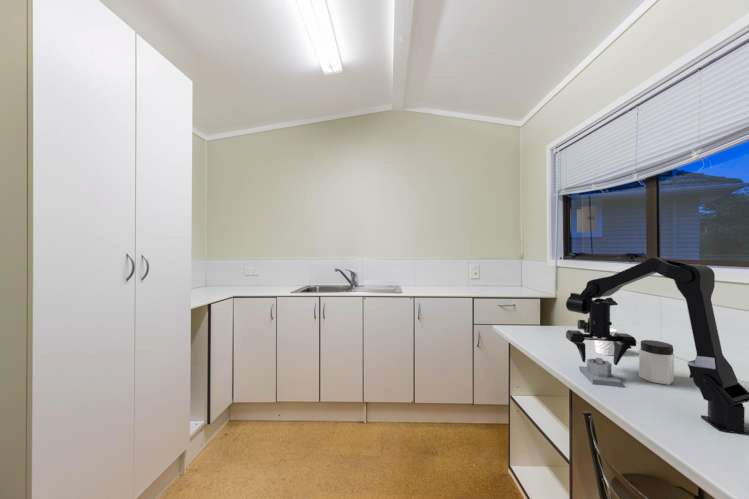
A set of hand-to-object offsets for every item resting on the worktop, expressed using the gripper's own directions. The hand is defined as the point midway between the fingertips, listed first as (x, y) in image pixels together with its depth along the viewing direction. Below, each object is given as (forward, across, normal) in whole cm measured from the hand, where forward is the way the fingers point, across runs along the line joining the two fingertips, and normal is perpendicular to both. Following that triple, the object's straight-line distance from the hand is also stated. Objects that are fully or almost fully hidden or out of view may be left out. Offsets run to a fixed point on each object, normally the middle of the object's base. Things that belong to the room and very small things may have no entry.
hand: (599, 363), depth 108 cm
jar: (+5, -18, -4) cm, 19 cm away
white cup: (+5, -13, -30) cm, 33 cm away
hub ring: (+4, 0, 0) cm, 4 cm away
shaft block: (+5, 0, 0) cm, 5 cm away
